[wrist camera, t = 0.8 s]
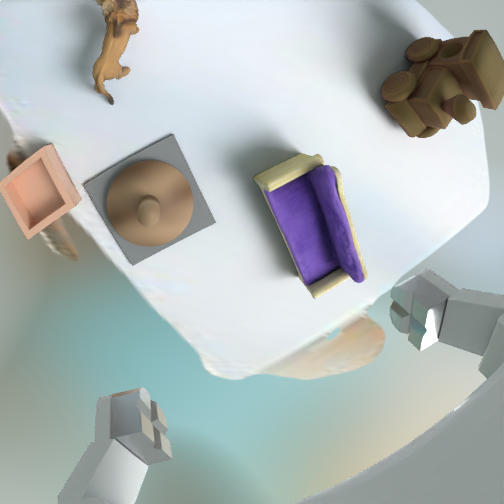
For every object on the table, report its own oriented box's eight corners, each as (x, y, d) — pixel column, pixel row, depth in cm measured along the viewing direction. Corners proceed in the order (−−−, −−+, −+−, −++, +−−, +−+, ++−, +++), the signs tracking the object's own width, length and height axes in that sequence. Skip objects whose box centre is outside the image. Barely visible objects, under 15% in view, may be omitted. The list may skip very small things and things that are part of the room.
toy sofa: (249, 173, 42) (273, 189, 33) (300, 147, 43) (336, 158, 34) (297, 280, 53) (324, 313, 44) (338, 256, 53) (370, 284, 44)
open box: (7, 179, 31) (-4, 184, 28) (52, 143, 32) (43, 146, 29) (36, 230, 36) (28, 239, 33) (81, 199, 37) (75, 206, 33)
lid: (92, 187, 36) (83, 197, 31) (169, 144, 37) (170, 148, 32) (134, 257, 42) (132, 275, 37) (206, 219, 43) (212, 233, 38)
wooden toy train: (415, 30, 37) (485, 24, 23) (446, 73, 43) (512, 79, 28) (368, 98, 42) (446, 103, 27) (405, 141, 47) (478, 161, 32)
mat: (84, 184, 36) (83, 185, 36) (173, 134, 37) (173, 134, 36) (132, 264, 43) (132, 265, 42) (215, 221, 44) (215, 222, 43)
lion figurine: (106, 8, 26) (93, -16, 18) (144, 5, 27) (140, -21, 20) (95, 106, 32) (77, 104, 24) (133, 103, 34) (125, 99, 26)
